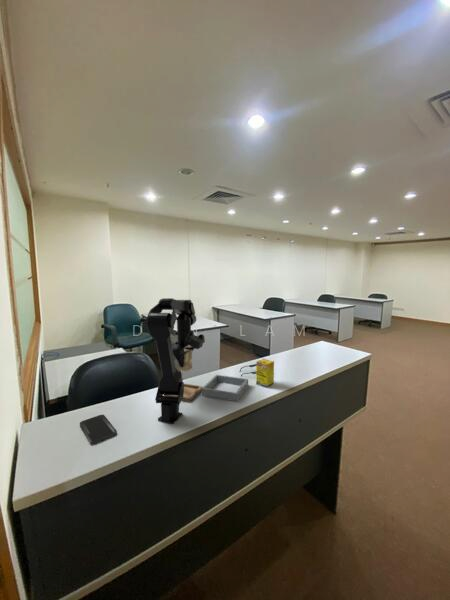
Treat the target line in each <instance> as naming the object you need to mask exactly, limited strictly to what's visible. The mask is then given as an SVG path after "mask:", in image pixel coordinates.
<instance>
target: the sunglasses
mask: <svg viewBox="0 0 450 600" xmlns="http://www.w3.org/2000/svg"><path fill="white" fill-rule="evenodd" d="M248 367H249V368H253V367H256V363H255V364H250V365H245V366H242V367H241V368H240V370H239V373H241V372H242V369H244V368H248ZM247 374H252V375H256V371H252V372H243V373H241V375H240V377H242V376H243V375H247Z"/></svg>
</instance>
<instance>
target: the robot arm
mask: <svg viewBox="0 0 450 600" xmlns="http://www.w3.org/2000/svg"><path fill="white" fill-rule="evenodd" d="M195 310H196V309H195V306H194V303H193V302H192V300H191V299H176V298H170V297H169V298H168V297H167V298H165V297H163V298H160V299H159V300H158V303H157V304H156V305H154V306H153V307H152V308H151V309H149V312H148V314H147V315H146V317H145V318H146V319H145V326H146V328H147V331H148V334H149V335H150V337H152V339H153V340H155V344H156V349H157V354H158V360H159V364H160V365H159V366H160V370H161V375H162V376H161V378H160V380H159V381H158V385H157V390H156V394H155V395H156V396H155V399H154V400H155V403H156V404H160V410H161V413H160V414H161V415H160V417H158V418H157V421H158V422H164V423H168V424H171V425H172V424H173V425H174V424H175V423H176V422H177V421H178V420H179V419H180V418H181V417H182V416H183V414H184V413H183V412H180V404H181V402H183V401H182V400H183V394H184V384H185V382H184V381H183V373H182V371H179V370H176V369H177V367H176V364H175V363H176V362H177V361H178V363H179V365H180V367H183V366H184V355H185V354H186V353H187V352H185V349H188V350H192V353H193V351H194V350H199V349H201V348H202V347H203V345H204V343H205V342H206V339H205V335H204V334H199V335H194V330H192V326H193V325H194V324H195V323H196V322H197V316H196V311H195ZM163 311H172V312H171V313H170V312H163ZM175 324H176V330H177V331H175V333H174V334H175V336H177V341H175V342H174V343H175V344H172V339H171V335H172V333H173V331H174V329H175ZM175 359H176V362H175ZM164 395H178V396H164Z"/></svg>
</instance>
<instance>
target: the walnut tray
mask: <svg viewBox="0 0 450 600" xmlns="http://www.w3.org/2000/svg"><path fill="white" fill-rule="evenodd" d="M202 388H203V386H202V385H195V384H191V383H190V384H189V383H184V394H183V400H182V401H181V402H187V403H190V402H191V401H192V400H193V399H195V398H196V397H197V395H199V394H200V393H202ZM163 396H178V395H163Z"/></svg>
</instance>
